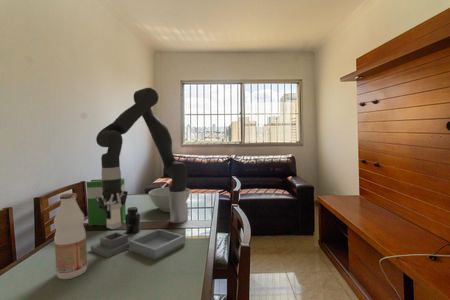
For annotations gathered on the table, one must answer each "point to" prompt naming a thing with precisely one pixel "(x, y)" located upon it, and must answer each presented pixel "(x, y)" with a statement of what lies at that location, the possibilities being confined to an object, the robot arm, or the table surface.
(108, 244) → the grey stepped block piece
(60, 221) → the fruit juice
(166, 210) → the decorative bowl
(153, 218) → the table surface
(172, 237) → the parts tray
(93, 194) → the green cereal box
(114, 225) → the block
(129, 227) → the supplement bottle
